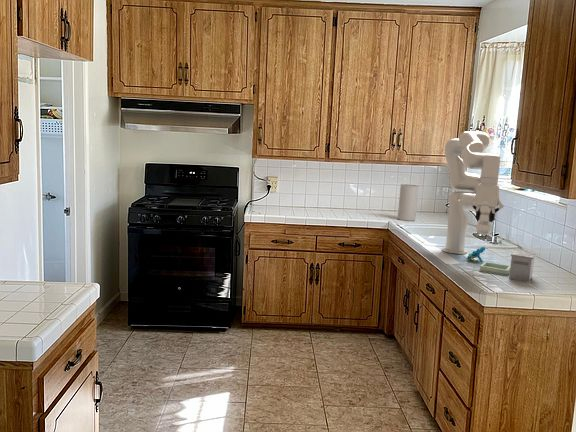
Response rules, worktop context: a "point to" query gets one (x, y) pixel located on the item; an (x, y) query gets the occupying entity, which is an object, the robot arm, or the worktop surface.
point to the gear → (476, 254)
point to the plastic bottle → (484, 219)
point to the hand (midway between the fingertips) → (484, 220)
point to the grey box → (521, 266)
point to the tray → (495, 268)
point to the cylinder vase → (408, 202)
